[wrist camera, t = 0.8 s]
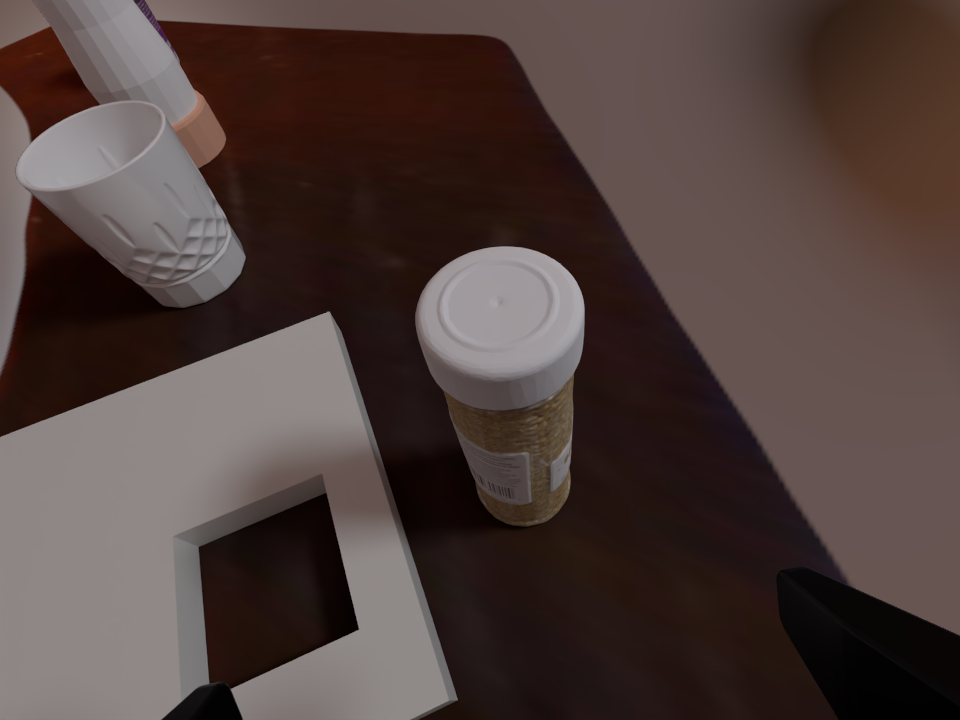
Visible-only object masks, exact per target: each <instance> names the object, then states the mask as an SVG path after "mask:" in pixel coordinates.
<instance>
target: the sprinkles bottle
mask: <svg viewBox="0 0 960 720" xmlns="http://www.w3.org/2000/svg"><path fill="white" fill-rule="evenodd" d="M416 330H417V334H418V338H419V342H420V345H421V348H422V351H423V354H424V357H425V360H426V362H427V365H428V367H429V370H430V372H431V374H432V376H433V378H434V379H435V381H436V382H437V384H438V385H439V386H440V387H441V388H442V389H443V391H444V394H445V397H446V400H447V403H448V407H449V413H450V416H451V419H452V422H453V425H454V428H455V430H456V433H457V436H458V439H459V441H460V444H461V447H462V449H463V452H464V454H465V457H466V460H467V462H468V465H469V467H470V470H471V472H472V475H473V477H474V479H475V481H476V489H477V493H478V495H479V498H480V500H481V502H482V503H483V505H484V506H485V508H486V509H487V510H488V511H489V512H490V513H491V514H492V515H493V516H494V517H495V518H497V519H498V520H500V521H503V522H505V523H507V524H510V525H514V526H531V525H537V524H540V523H544V522H546V521H548V520H549V519H550V518H552V517H553V516H554V515H555V514H556V513H557V512H558V511H559V510H560V508H561V507H562V506H563V504H564V502H565V501H566V499H567V497H568V494H569V490H570V482H571V479H570V470H569V465H570V459H571V442H572V422H573V402H572V392H573V379H574V371H575V369H576V368H577V366H578V363H579V361H580V357H581V354H582V348H583V337H584V302H583V296H582V293H581V291H580V289H579V286H578V284H577V282H576V281H575V279H574V278H573V276H572V275H571V274H570V273H569V272H568V271H567V270H566V269H565V268H564V267H563V266H562V265H561V264H559V263H558V262H557V261H555V260H554V259H552V258H550V257H548V256H546V255H544V254H542V253H539V252H537V251H534V250H530V249H525V248H520V247H492V248H485V249H481V250H477V251H474V252H470V253H468V254H465V255H463V256H461V257H459V258H457V259H455V260H454V261H452V262H450V263H449V264H447V265H446V266H445V267H443V268H442V269H441V270H440V271H438V272H437V273H436V274H435V275H434V276H433V277H432V279H431V280H430V281H429V282H428V284H427V285H426V287H425V288H424V290H423V292H422V294H421V296H420V299H419V302H418V305H417V310H416Z"/></svg>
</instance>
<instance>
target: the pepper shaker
mask: <svg viewBox="0 0 960 720" xmlns="http://www.w3.org/2000/svg"><path fill="white" fill-rule="evenodd" d="M32 1H33V2H34V4H35V5H36V6H37V8H38V9H39V10H40V12H41V13H42V14H43V16H44V17H45V18H46V20H47V21H48V23H49V24H50V25H51V27H52V28H53V30H54V32H55V34H56V35H57V37H58V39H59V41H60V42H61V44H62V46H63V48H64V49H65V51H66V53H67V55H68V56H69V58H70V60H71V62H72V63H73V65H74V67H75V68H76V70H77V72H78V74H79V75H80V77H81V79H82V81H83V82H84V84H85V86H86V87H87V88H88V90H89V91H90V92H91V93H92V95H93V96H94V97H95V98H96V100H97V101H98V102H99V103H100V105H103V104H107V103H112V102H118V101H144V102H148V103H152V104H154V105H156V106H158V107H159V108H160V109H161V110H162V111H163V113H164V114H165V116H166V117H167V119H168V121H169V122H170V124H171V126H172V127H173V129H174V131H175V132H176V134H177V136H178V137H179V139H180V141H181V142H182V144H183V145H184V147H185V149H186V150H187V152H188V154H189V155H190V157H191V158H192V160H193V162H194V163H195V165H196V167H197V168H200V167H202V166H203V165H205V164H207V163H209V162H210V161H211V160H212V159H213V158H215V157H216V156H217V155H218V154H219V153H220V151H221V150H222V148H223V147H224V145H225V141H226V137H225V134H224V131H223V130H222V128H221V126H220V124H219V123H218V121H217V119H216V118H215V116H214V114H213V112H212V111H211V109H210V107H209V105H208V104H207V102H206V100H205V99H204V97H203V96H202V95H201V94H200V93H198V92H197V91H196V90H194V89H193V88H192V86H191V84H190V82H189V81H188V79H187V77H186V75H185V73H184V72H183V70H182V68H181V66H180V64H179V63H178V61H177V59H176V57H175V55H174V54H173V52H172V50H171V49H170V48H169V46H168V45H167V44H166V42H165V41H164V40H163V39H162V37H161V36H160V35H159V33H158V32H157V31H156V30H155V28H154V27H153V26H152V24H151V23H150V22H149V20H148V19H147V18H146V17H145V15H144V14H143V13H142V11H141V10H140V9H139V8H138V6H137V5H136V4H135V2H134V1H133V0H32Z"/></svg>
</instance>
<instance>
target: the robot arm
mask: <svg viewBox="0 0 960 720" xmlns="http://www.w3.org/2000/svg"><path fill="white" fill-rule="evenodd" d="M777 592H778V604H779V614H780V619H781V622H782V624H783V627H784V629H785V631H786V633H787V634H788V636H789V638H790V639H791V641H792V643H793V644H794V646H795V648H796V649H797V651H798V653H799V654H800V656H801V658H802V659H803V661H804V663H805V664H806V666H807V668H808V669H809V671H810V673H811V674H812V676H813V678H814V679H815V681H816V683H817V684H818V686H819V688H820V689H821V691H822V693H823V694H824V696H825V698H826V699H827V701H828V703H829V704H830V706H831V708H832V709H833V711H834V713H835V714H836V716H837V718H838V719H839V720H960V635H958V634H955V633H953V632H951V631H949V630H946V629H944V628H942V627H940V626H937V625H935V624H933V623H931V622H928V621H926V620H924V619H922V618H919V617H917V616H915V615H913V614H911V613H908V612H906V611H904V610H902V609H900V608H897V607H895V606H893V605H891V604H888V603H886V602H884V601H882V600H879V599H877V598H875V597H873V596H870V595H868V594H866V593H864V592H862V591H859V590H857V589H855V588H853V587H850V586H848V585H846V584H844V583H841V582H839V581H837V580H835V579H833V578H830V577H828V576H826V575H824V574H821V573H819V572H817V571H815V570H812V569H810V568H807V567H795V568H790V569H785V570H781V571H780V572H778V574H777ZM161 720H243V718H242V715H241V713H240V710H239V708H238V706H237V703H236V701H235V698H234V696H233V693H232V691H231V688H230V687H229V685H228V684H227V683H225V682H216V683H211V684H206V685H202V686H200V687H198V688H196V689H195V690H194V691H193V692H192V693H191V694H189V695H188V696H187V697H186V698H185V699H184V700H183V701H182V702H180V703H179V704H178V705H177V706H176V707H175V708H174V709H173V710H172V711H170V712H169V713H168V714H167V715H166V716H165V717H164V718H163V719H161Z"/></svg>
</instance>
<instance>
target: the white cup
mask: <svg viewBox="0 0 960 720" xmlns="http://www.w3.org/2000/svg"><path fill="white" fill-rule="evenodd" d="M15 173H16V178H17V179H18V181H19V183H20V184H21V185H23V186H24V187H25V188H26V189H27V190H28V191H29V192H30V193H32V194H33V195H34V196H35V197H36V198H37V199H38V200H39V201H41V202H42V203H43V204H44V205H45V206H46V207H47V208H48V209H49V210H51V211H52V212H53V213H54V214H55V215H56V216H57V217H58V218H60V219H61V220H62V221H63V222H64V223H65V224H66V225H67V226H68V227H70V228H71V229H72V230H73V231H74V232H75V233H76V234H77V235H78V236H80V237H81V238H82V239H83V240H84V241H85V242H86V243H87V244H88V245H90V246H91V247H92V248H94V249H95V250H97V251H98V252H99V253H100V254H101V255H102V256H103V257H104V258H105V259H106V260H107V261H108V262H110V263H111V264H112V265H114V266H115V267H116V268H117V269H118V270H119V271H120V272H121V273H122V274H124V275H125V276H126V277H128V278H130V279H132V280H133V281H134V282H136V283H137V284H138V285H139V286H140V287H141V288H142V289H143V290H145V291H146V292H147V293H148V294H149V295H150V296H151V297H153V298H154V299H155V300H157V301H158V302H159V303H160V304H162V305H163V306H168V307H178V308H186V307H190V306H194V305H198V304H201V303H205V302H207V301H209V300H211V299H212V298H214V297H216V296H217V295H219V294H221V293H222V292H224V291H226V290H227V289H228V288H229V287H230V285H231V284H232V283H233V282H234V281H235V280H236V279H237V278H238V276H239V275H240V274H241V271H242V268H243V265H244V262H245V259H246V257H245V254H244V251H243V248H242V245H241V243H240V241H239V239H238V238H237V236H236V235H235V233H234V231H233V230H232V228H231V227H230V225H229V223H228V221H227V218H226V216H225V214H224V212H223V211H222V209H221V207H220V206H219V204H218V202H217V201H216V199H215V197H214V195H213V193H212V192H211V190H210V188H209V187H208V185H207V183H206V181H205V180H204V178H203V176H202V175H201V173H200V171H199V170H198V168H197V167H196V165H195V163H194V162H193V160H192V158H191V157H190V155H189V154H188V152H187V150H186V149H185V147H184V145H183V144H182V142H181V141H180V139H179V137H178V136H177V134H176V132H175V131H174V129H173V127H172V126H171V124H170V122H169V121H168V119H167V117H166V116H165V114H164V113H163V111H162V110H161V109H160V108H159V107H158V106H156V105H154V104H152V103H148V102H144V101H118V102H112V103H107V104H103V105H99V106H96V107H93V108H90V109H87V110H84V111H81V112H79V113H77V114H74V115H72V116H70V117H68V118H66V119H64V120H62V121H60V122H59V123H57V124H55V125H54V126H52V127H50V128H49V129H47V130H46V131H45V132H43V133H42V134H41V135H39V136H38V137H37V138H36V139H35V140H34V141H33V142H32V143H31V144H30V145H29V146H28V147H27V148H26V149H25V150H24V152H23V153H22V154H21V156H20V158H19V160H18V162H17V165H16V170H15Z"/></svg>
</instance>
